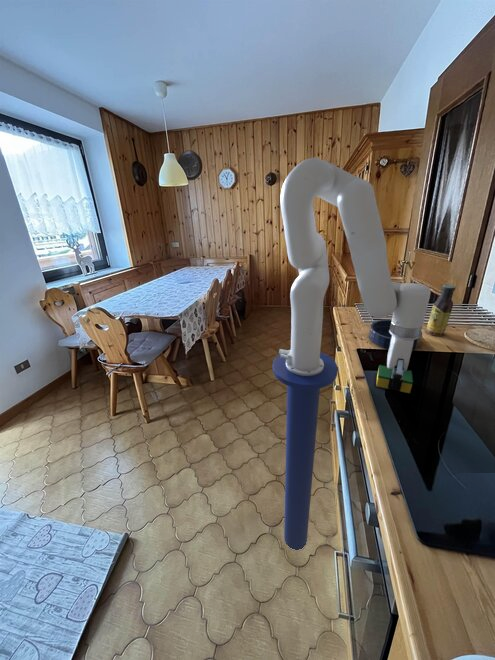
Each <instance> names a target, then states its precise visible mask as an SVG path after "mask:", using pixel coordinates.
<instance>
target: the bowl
mask: <svg viewBox="0 0 495 660" xmlns="http://www.w3.org/2000/svg"><path fill="white" fill-rule="evenodd" d="M391 321H392V319H378V320H376V321H373V322H372V323H371V324H370V326H369V333H368V338H369V340H370V342H371V343H372V344H374V345H376V346H377V347H379V348H382V349H385V350H387V351H389V347H390V342H391V338H392V335H391V334H390V332H389V331H390V326H391ZM422 337H423V331H422V330H421V334H420V337H419V338H418V339H415V340H414V343H413V348H412V351H414V350H416V349H418V348H419V347H420V345H421V341H422Z"/></svg>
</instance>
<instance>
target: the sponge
mask: <svg viewBox="0 0 495 660" xmlns="http://www.w3.org/2000/svg"><path fill="white" fill-rule="evenodd" d="M396 371H397V370H395V371H394V374H396ZM391 375H392V369H388V367H387V365H383V364H379V365H378V369H377V375H376V382H375V383H376V385H375V386H376V387H378V388H383V389H387V390H389V389H388V384H389V379H390V377H391ZM402 379H403V381H402V385H401V389H400V391H399V392H402V393H407V394H411V392H412V391H411V390H412V388H413V384H414V379H413V371H412V370H408V369H407V370H406V371H404V372H403V378H402ZM395 391H397V390H395ZM397 392H398V391H397Z"/></svg>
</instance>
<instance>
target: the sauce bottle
mask: <svg viewBox="0 0 495 660" xmlns="http://www.w3.org/2000/svg"><path fill="white" fill-rule="evenodd" d="M455 291H456V286H455V285H453V284H447V283H446V284H443V285H442V286H441V291H440V294H439V297H438V298H437V299H436V300H435V302H434V303H433V305H432V308H431V311H430V314H429V317H428V318H429V319H428V322H427V325H426V333H427V334H429V335H431V336H436V337H441V336H443V335H444V334H445V332H446V330H447V326H448V323H449V320H450V317H451V314H452V311H453V307H454V301H453V295H454V293H455Z"/></svg>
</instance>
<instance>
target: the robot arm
mask: <svg viewBox="0 0 495 660" xmlns="http://www.w3.org/2000/svg"><path fill="white" fill-rule="evenodd" d="M316 197H317V198H320V199H321V200H323V201H325V202H327V203H328V204H330V205H333V206H335V207H337V209H338V212H339V215H340V220H341V223H342V226H343V231H344V234H345V237H346V241H347V245H348V249H349V252H350V259H351V262H352V266H353V269H354V273H355V278H356V283H357V288H358V290H359V294H360V299H361V301H362V305H363V309H364V310H365V311H366V313H367V314H368V315H369V316H371V317H373V318H377V319H384V318H387V317H389V316H391V315H392V316H391V320H392V321H391V326H390V331H389V332H390V334H391V335H392V338H391V342H390V347H389V350H387V351H388V352H387V358H386V366H387V367H388V369H392V375H391V377H390V379H389V384H388V389H387V390H392V391H396V390H397V392H401V391H400V389H401V385H402V381H403V379H402V378H403V372H404V371H406V370H408V367H409V364H410V359H411V355H412V352H413V350H412V348H413V343H414V340H415V339H418V338H419V337H420V334H421V331H422V330H423V327H424V321H425V319H426V314H427V310H428V306H429V302H430V298H431V289H430V287H429V286H428V285H426V284H421V283H418V282H417V283H414V282H409V283H403V282H398V281H393V280H392V277H391V273H390V267H389V261H388V252H387V241H386V237H385V232H384V228H383V226H382V225H383V224H382V220H381V216H380V213H379V209H378V204H377V200H376V194H375V189H374V186H373V185H372V184H371V182H369V181H368V180H365V179H363V178H361V177H358V176H356V175H354V174H352V173H351V172H348V171H346V170H345V169H343V168H340V167H339V166H337V165H335V164H333V163H331V162H329V161H327V160H325V159H323V158H320V157H319V158H318V157H310V158H307V159H303V160H302V161H301V162H299V163H298V164H297V165H296V166H294V167H293V168H292V170H291V171H290V172H289V173H288V174H287V176H286V178H285V179H284V182H283V184H282V187H281V191H280V201H279V203H280V212H281V217H282V223H283V233H284V238H285V245H286V251H287V258H288V261H289V264H290V265H291V266H292V267H293V268H294V269H296V270H297V271H298V276H297V277H296V278H295V279H294V281H293V282H292V285H291V288H290V293H289V298H290V300H289V301H290V308H291V309H290V311H291V315H290V316H291V318H290V319H291V321H290V322H291V325H290V326H291V327H290V332H291V333H290V349H288V350H287V349H284V348H283V349H282V348H279V350H278V355H280V354H281V355H280V358H285V359H287V360H286V367H287V369H288V370H289V371H291V372H292V373H294V374H297V375H301V376H313V375H316V374H319V373H320V372H321V371H322V370H323V369H324V362H323V361H322V359H320V352H321V348H322V347H321V346H322V335H323V319H324V301H325V300H324V299H325V295H326V292H327V290H328V288H329V285H330V279H331V278H330V268H329V260H328V251H327V244H326V240H325V239H324V237H323V236H322V234H320V233H319V232H318V231H317V225H316V216H315V215H316V214H315V209H314V200H315V199H316ZM395 370H397V371H396V374H394V371H395Z"/></svg>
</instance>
